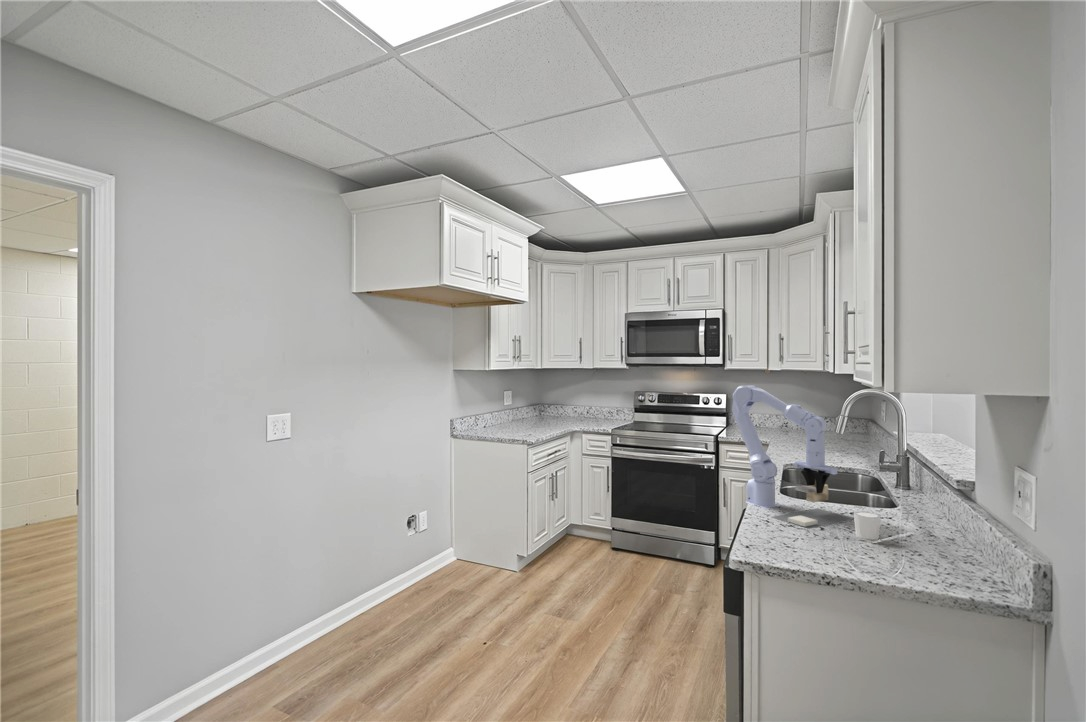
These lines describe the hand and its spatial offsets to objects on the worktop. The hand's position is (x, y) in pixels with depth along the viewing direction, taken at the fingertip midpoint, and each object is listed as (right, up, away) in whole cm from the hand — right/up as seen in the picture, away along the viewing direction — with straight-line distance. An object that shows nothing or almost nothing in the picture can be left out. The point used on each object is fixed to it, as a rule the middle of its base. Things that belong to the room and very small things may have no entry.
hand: (815, 491), depth 178 cm
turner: (-1, -3, -1) cm, 3 cm away
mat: (-4, -8, -6) cm, 10 cm away
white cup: (+2, -8, -25) cm, 26 cm away
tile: (-8, -6, -11) cm, 15 cm away
